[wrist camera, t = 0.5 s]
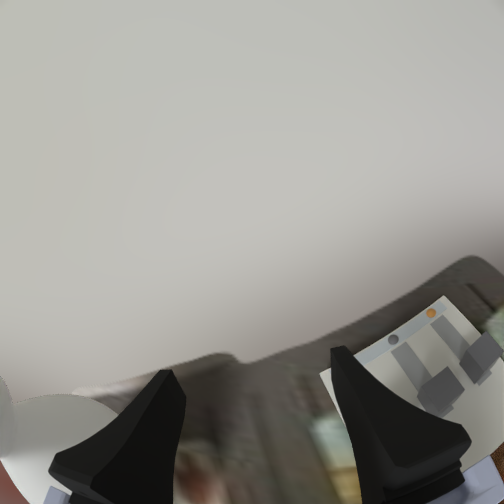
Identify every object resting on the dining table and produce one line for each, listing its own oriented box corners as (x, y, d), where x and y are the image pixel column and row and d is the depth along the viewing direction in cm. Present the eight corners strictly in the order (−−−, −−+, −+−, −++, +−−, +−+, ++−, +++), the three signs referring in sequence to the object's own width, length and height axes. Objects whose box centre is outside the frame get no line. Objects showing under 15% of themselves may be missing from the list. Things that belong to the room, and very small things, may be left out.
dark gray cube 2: (456, 400, 16) (465, 389, 14) (431, 420, 16) (438, 411, 15) (440, 378, 19) (447, 365, 17) (416, 396, 19) (421, 386, 17)
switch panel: (526, 411, 11) (535, 404, 10) (391, 520, 11) (393, 523, 10) (441, 305, 26) (443, 294, 25) (322, 380, 27) (319, 372, 25)
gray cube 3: (493, 365, 16) (503, 351, 14) (474, 384, 16) (484, 371, 14) (478, 346, 19) (486, 330, 17) (458, 363, 19) (466, 349, 17)
